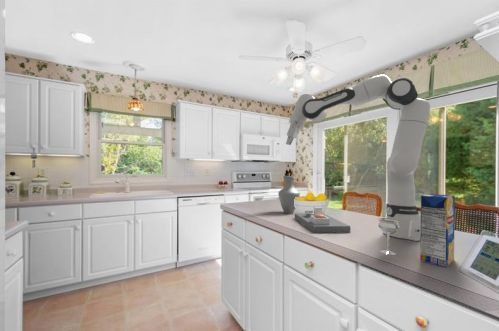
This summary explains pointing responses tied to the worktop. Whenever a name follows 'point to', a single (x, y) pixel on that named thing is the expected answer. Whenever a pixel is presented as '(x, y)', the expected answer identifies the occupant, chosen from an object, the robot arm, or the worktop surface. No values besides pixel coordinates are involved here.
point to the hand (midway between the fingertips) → (288, 144)
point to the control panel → (322, 223)
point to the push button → (319, 216)
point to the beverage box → (437, 229)
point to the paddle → (317, 210)
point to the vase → (288, 195)
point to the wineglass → (388, 230)
